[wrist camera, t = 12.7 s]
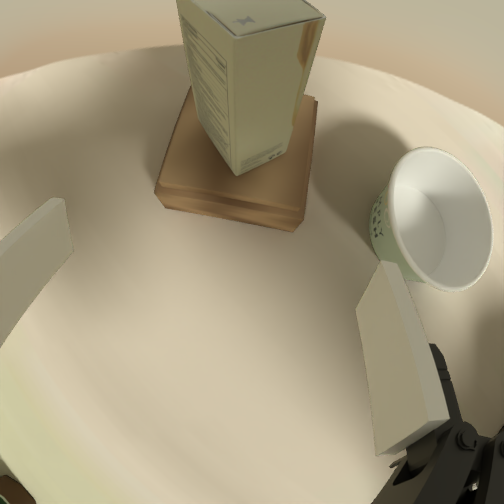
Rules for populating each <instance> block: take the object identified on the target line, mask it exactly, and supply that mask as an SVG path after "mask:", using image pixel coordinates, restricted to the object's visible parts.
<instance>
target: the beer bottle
mask: <svg viewBox="0 0 504 504" xmlns="http://www.w3.org/2000/svg"><path fill="white" fill-rule="evenodd" d="M0 504H36V501H35V500H34V499H33V498H32V497H31V495H30V494H29V493H28V492H27V491H26V490H25V489H24V487H23V486H22V485H21V484H19V483H18V482H16V481H15V480H13V479H11V478H10V477H8V476H7V475H4V476H2V477H0Z"/></svg>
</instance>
